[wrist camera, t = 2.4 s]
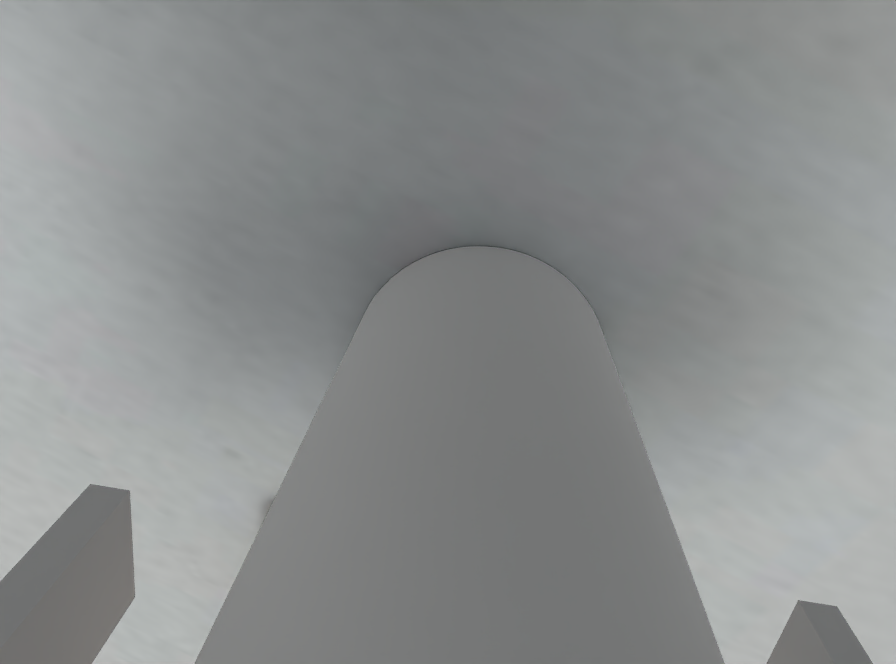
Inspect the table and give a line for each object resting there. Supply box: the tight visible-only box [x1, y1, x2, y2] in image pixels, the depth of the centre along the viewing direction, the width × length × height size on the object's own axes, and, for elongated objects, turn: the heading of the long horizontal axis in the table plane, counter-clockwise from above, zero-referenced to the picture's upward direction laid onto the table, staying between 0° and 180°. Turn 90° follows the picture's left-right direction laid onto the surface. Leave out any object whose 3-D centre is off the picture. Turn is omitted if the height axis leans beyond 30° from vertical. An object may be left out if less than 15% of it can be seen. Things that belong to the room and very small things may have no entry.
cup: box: [195, 246, 725, 664], centre depth 14 cm, size 8×8×16 cm
